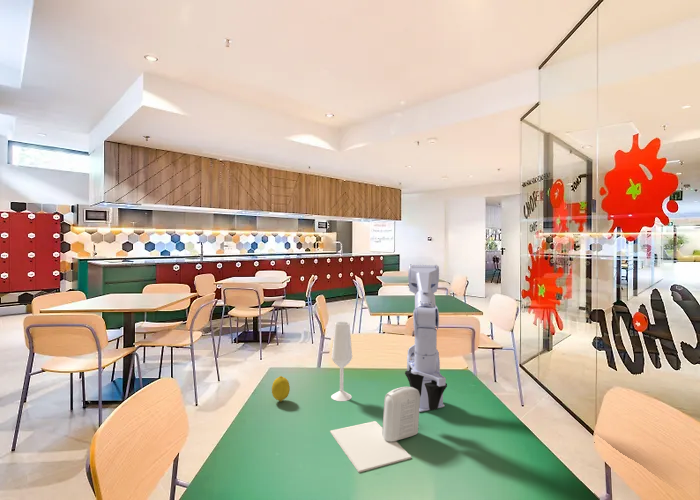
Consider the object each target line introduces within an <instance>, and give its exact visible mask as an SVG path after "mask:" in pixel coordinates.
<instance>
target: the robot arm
mask: <svg viewBox="0 0 700 500" xmlns="http://www.w3.org/2000/svg"><path fill="white" fill-rule="evenodd" d="M407 268H408V269H407V270H408V271H407V273H408V274H407V275H408V276H407V277H408V278H407V280H408V289H409V290H408V291H409V292H411V293H413V294H414V309H413V314H412V315H413V316H412V317H413V318H412V319H413V320H412V321H413V324H412V325H413V329H414V330H413V334H414V344H412V345H411V346H409V348H408V350H407V356H406V358H407V359H406V371H405V372H404V374H405V376H406V378H407V381H408V383H409V387H413V388H415V389H417V390H418V391H419V394H420V407H419V413H421V412H426V411H435V410H438V409H441V408H444V407H445V404H444V392H445V390H446V388H447V387H448V383H446V380H447V379H446V377H445V376H444V375H442V374H441V364H440V363H441V360H440V353H439V350H438V349H437V342H438V341H437V338H438V337H437V330H439V326H440V313H439V308H438V305H436V296H435V293H437V292H438V287H439V282H440V267H439V266H438V265H437V264H434V265H433V264H409V265H408V267H407Z"/></svg>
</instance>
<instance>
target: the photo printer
mask: <svg viewBox="0 0 700 500" xmlns="http://www.w3.org/2000/svg"><path fill="white" fill-rule="evenodd" d="M383 402H384V403H383V413H382V414H383V416H382V417H383V418H382V428H383V429H382V435H383V438H384V439H385V440H387V441H389V442H390V441H391V442H392V441H396V442H398V441H399V440H400V441H401V440H403V439H407V438H409V437H413V436H416V435H417V434H418V432H419V419H420V412H419V407H420V394H419V391H418V390H417V389H415V388H413V387H410V386H401V387H398V388H394V389H392V390H390V391H388V392H387V393H386V394H385V395H384V400H383Z"/></svg>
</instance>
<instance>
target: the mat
mask: <svg viewBox="0 0 700 500" xmlns="http://www.w3.org/2000/svg"><path fill="white" fill-rule="evenodd" d="M382 429H383V426H381V425H380V424H379V423H378V422H377V421H376V420H373V421H368V422H365V423H360V424H355V425H354V424H353V425H351V426H346V427H341V428H335V429H331V430H329V433H330V435H332V437H333V438H334V440H335V441H336V443H337V444H338V445H339V447H340V448H341V450H342V452H343V453H344V454H345V456H346V457H347V458H348V459H349V461H350V462H351V464H352V465H353V467H354V468H355V469H356V471H357V472H358V473H363V472H365V471H371V470H373V469H376V468H380V467H384V466H388V465H391V464H392V465H393V464H397V463H399V462H402V461H403V462H404V461H406V460H410V459H412V455H411V454H410V453H408V451H406V449H405V448H403V446H401V444H400V443H399V442H398V441H392V442H391V441H390V442H389V441H387V440H385V439H384V438H383V435H382Z"/></svg>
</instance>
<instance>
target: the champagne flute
mask: <svg viewBox="0 0 700 500" xmlns="http://www.w3.org/2000/svg"><path fill="white" fill-rule="evenodd" d="M351 339H352V337H351V326H350V322H349V321H335V323H334V328H333V339H332V348H331V360H332V362H334V364H335V365H336V366H337V367H339V390H338V391H336V392H335V393H333V394H331V396H330V398H331V399H332V400H333V401H337V402H348V401H349V400H351V399H352V395H351V394H350V393H348V392H347V391H345V390H344V367H346V366H347V365H349V363H350V362H351V361H352V359H353V353H352V352H353V351H352V340H351Z"/></svg>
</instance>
